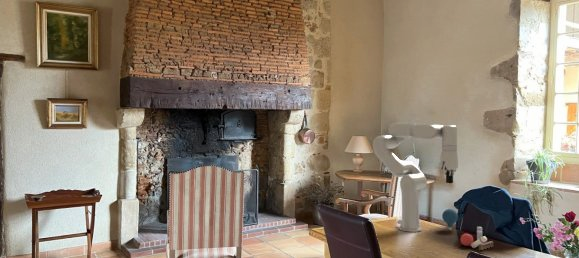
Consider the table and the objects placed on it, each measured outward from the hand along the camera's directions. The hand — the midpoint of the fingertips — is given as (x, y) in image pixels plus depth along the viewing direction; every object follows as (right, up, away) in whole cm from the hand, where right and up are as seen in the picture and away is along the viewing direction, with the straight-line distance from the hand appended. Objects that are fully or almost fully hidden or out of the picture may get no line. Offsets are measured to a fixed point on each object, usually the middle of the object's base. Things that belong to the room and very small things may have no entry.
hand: (449, 182), depth 238 cm
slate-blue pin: (+10, -29, -13) cm, 34 cm away
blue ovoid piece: (+6, -29, +16) cm, 34 cm away
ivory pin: (+5, -28, -19) cm, 35 cm away
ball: (+3, -26, -16) cm, 31 cm away
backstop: (+10, -29, -21) cm, 37 cm away
